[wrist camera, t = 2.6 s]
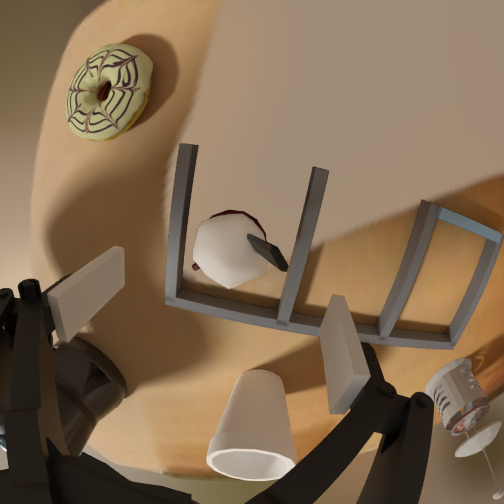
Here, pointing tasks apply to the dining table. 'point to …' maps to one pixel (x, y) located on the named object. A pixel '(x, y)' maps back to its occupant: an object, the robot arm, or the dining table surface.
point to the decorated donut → (120, 97)
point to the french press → (456, 397)
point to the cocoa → (234, 249)
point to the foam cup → (254, 430)
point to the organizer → (283, 315)
